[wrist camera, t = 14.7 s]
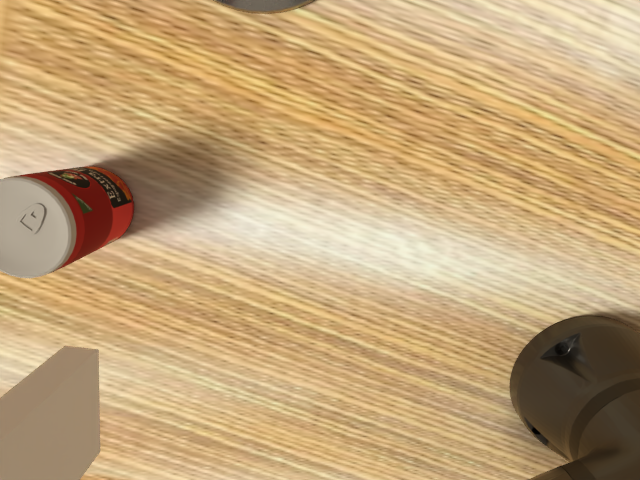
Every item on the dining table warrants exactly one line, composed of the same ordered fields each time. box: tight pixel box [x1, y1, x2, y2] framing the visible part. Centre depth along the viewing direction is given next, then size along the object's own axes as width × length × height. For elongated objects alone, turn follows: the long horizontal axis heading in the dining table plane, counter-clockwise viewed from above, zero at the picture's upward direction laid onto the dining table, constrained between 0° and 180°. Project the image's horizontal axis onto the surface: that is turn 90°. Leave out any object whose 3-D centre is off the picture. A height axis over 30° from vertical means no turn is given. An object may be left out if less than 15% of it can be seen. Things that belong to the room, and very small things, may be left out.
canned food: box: [0, 166, 134, 278], centre depth 37 cm, size 8×8×11 cm
